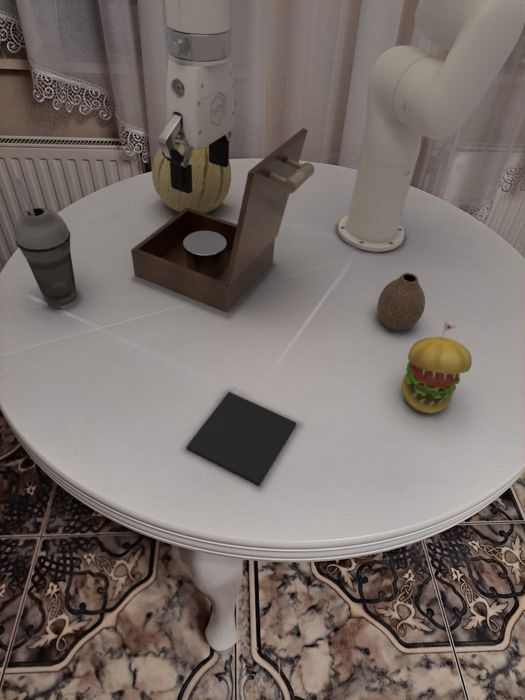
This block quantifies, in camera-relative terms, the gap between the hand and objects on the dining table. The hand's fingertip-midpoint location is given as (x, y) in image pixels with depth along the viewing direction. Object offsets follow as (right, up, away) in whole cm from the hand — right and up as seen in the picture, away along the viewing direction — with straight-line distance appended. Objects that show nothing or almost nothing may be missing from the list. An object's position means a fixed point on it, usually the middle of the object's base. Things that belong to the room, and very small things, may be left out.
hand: (201, 176), depth 74 cm
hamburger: (+31, -32, -4) cm, 44 cm away
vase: (+30, -21, +6) cm, 37 cm away
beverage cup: (-22, -18, +6) cm, 29 cm away
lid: (+9, -5, -1) cm, 10 cm away
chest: (-1, -12, +12) cm, 17 cm away
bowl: (-1, -11, +12) cm, 17 cm away
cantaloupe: (-5, +2, +27) cm, 27 cm away
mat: (+7, -36, -11) cm, 38 cm away
